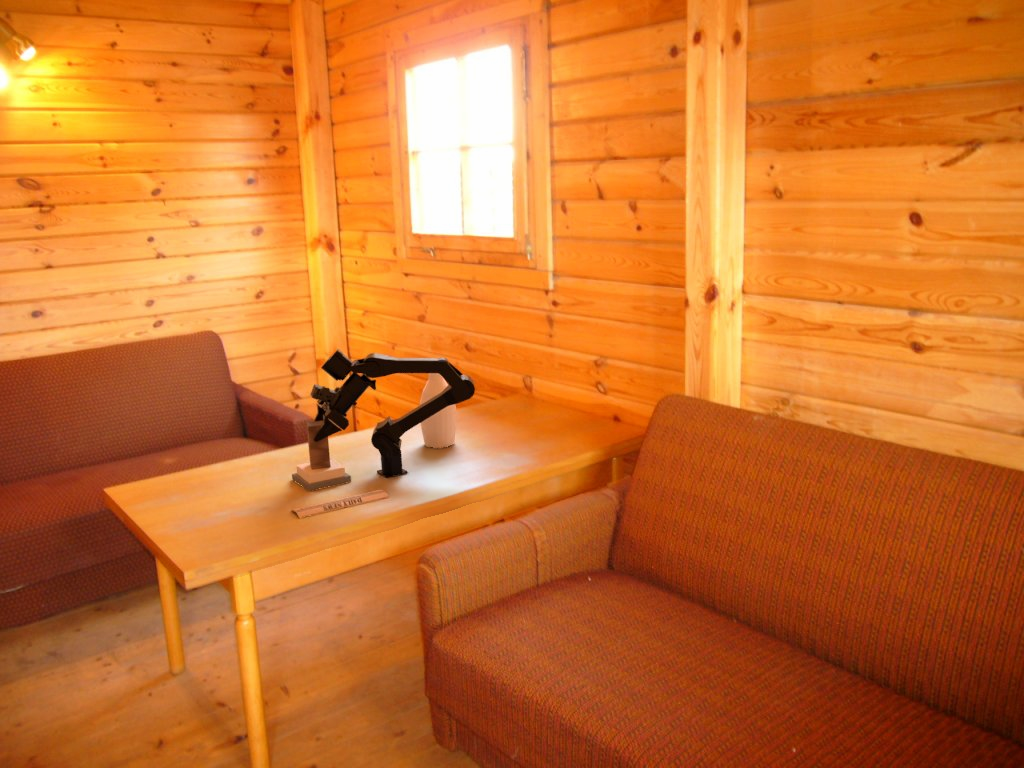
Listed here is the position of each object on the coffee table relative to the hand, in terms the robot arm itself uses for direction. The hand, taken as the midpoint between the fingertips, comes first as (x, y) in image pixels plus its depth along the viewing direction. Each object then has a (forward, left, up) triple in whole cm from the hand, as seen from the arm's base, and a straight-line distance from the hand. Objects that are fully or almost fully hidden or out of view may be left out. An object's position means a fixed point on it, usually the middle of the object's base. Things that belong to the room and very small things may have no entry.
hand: (312, 436), depth 239 cm
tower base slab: (0, -1, -14) cm, 14 cm away
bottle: (+8, -43, -13) cm, 46 cm away
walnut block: (0, -1, -9) cm, 9 cm away
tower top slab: (0, -1, -11) cm, 11 cm away
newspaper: (-21, +2, -14) cm, 25 cm away
